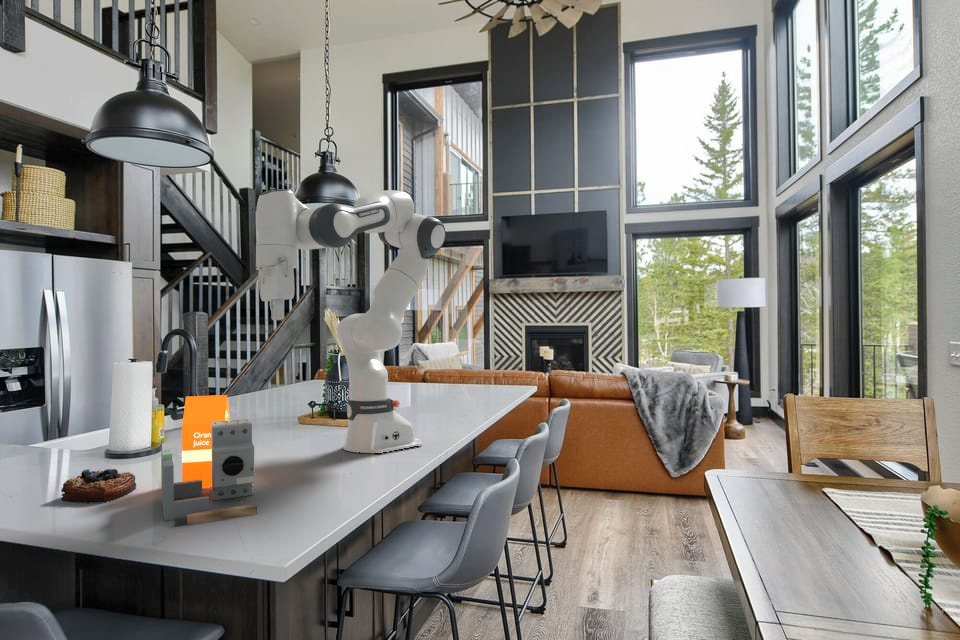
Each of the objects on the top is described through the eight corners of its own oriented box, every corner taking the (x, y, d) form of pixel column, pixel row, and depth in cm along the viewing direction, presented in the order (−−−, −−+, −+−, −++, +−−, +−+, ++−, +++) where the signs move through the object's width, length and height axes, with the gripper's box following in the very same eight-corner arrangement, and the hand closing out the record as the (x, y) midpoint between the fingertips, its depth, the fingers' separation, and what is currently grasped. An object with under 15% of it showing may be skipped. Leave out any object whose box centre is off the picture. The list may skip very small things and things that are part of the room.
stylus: (256, 512, 111) (256, 503, 111) (257, 514, 109) (257, 506, 109) (174, 524, 104) (174, 516, 104) (174, 527, 102) (174, 518, 102)
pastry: (94, 487, 127) (94, 461, 127) (144, 489, 126) (144, 462, 126) (53, 503, 116) (53, 475, 116) (108, 505, 115) (107, 476, 115)
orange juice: (225, 486, 127) (225, 397, 127) (181, 490, 124) (181, 398, 124) (230, 477, 134) (229, 392, 134) (188, 480, 132) (188, 394, 132)
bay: (201, 493, 122) (201, 442, 122) (209, 513, 109) (208, 456, 109) (161, 499, 118) (161, 446, 118) (164, 520, 105) (164, 461, 105)
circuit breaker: (214, 509, 112) (214, 433, 112) (211, 490, 125) (211, 421, 125) (255, 503, 115) (254, 429, 115) (248, 485, 128) (248, 418, 128)
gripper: (301, 256, 123) (301, 320, 123) (281, 264, 141) (281, 320, 141) (271, 254, 120) (271, 320, 120) (254, 263, 138) (254, 320, 138)
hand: (276, 320), depth 131 cm, fingers closed
